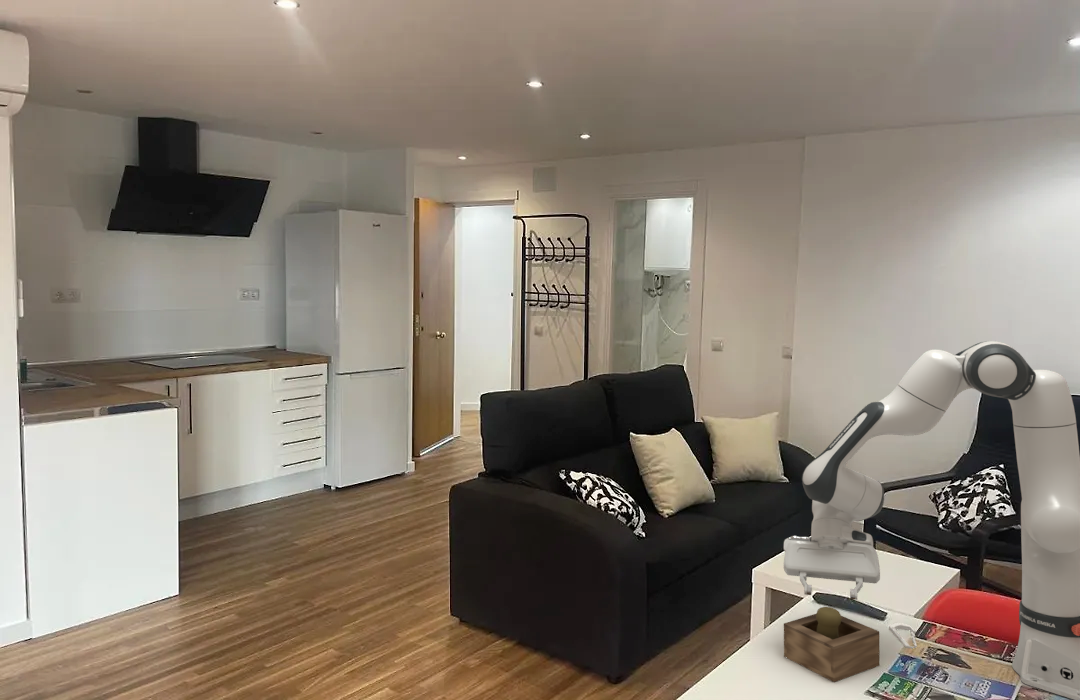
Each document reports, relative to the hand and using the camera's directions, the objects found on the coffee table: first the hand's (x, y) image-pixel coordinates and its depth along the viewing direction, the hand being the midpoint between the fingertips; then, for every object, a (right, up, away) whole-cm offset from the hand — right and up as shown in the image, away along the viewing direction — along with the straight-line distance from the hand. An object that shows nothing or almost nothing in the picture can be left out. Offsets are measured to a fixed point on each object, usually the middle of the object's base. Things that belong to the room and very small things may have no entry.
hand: (830, 596), depth 174 cm
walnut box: (+1, -15, +2) cm, 15 cm away
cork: (-1, -14, +1) cm, 14 cm away
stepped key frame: (+22, -14, +13) cm, 29 cm away
